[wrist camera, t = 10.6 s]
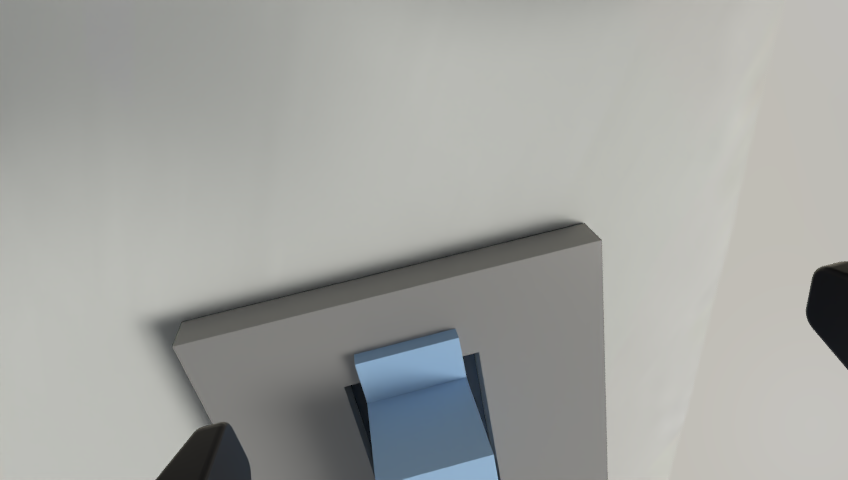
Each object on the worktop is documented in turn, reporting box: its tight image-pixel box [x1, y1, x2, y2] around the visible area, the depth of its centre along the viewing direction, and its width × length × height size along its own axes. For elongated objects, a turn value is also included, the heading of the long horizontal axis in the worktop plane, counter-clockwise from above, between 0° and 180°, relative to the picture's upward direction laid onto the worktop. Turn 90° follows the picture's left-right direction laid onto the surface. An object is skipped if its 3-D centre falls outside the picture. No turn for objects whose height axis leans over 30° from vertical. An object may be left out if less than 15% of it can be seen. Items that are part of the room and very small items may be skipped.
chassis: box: [172, 223, 608, 480], centre depth 24 cm, size 16×16×2 cm
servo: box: [354, 329, 498, 480], centre depth 22 cm, size 4×11×7 cm, turn 11°
